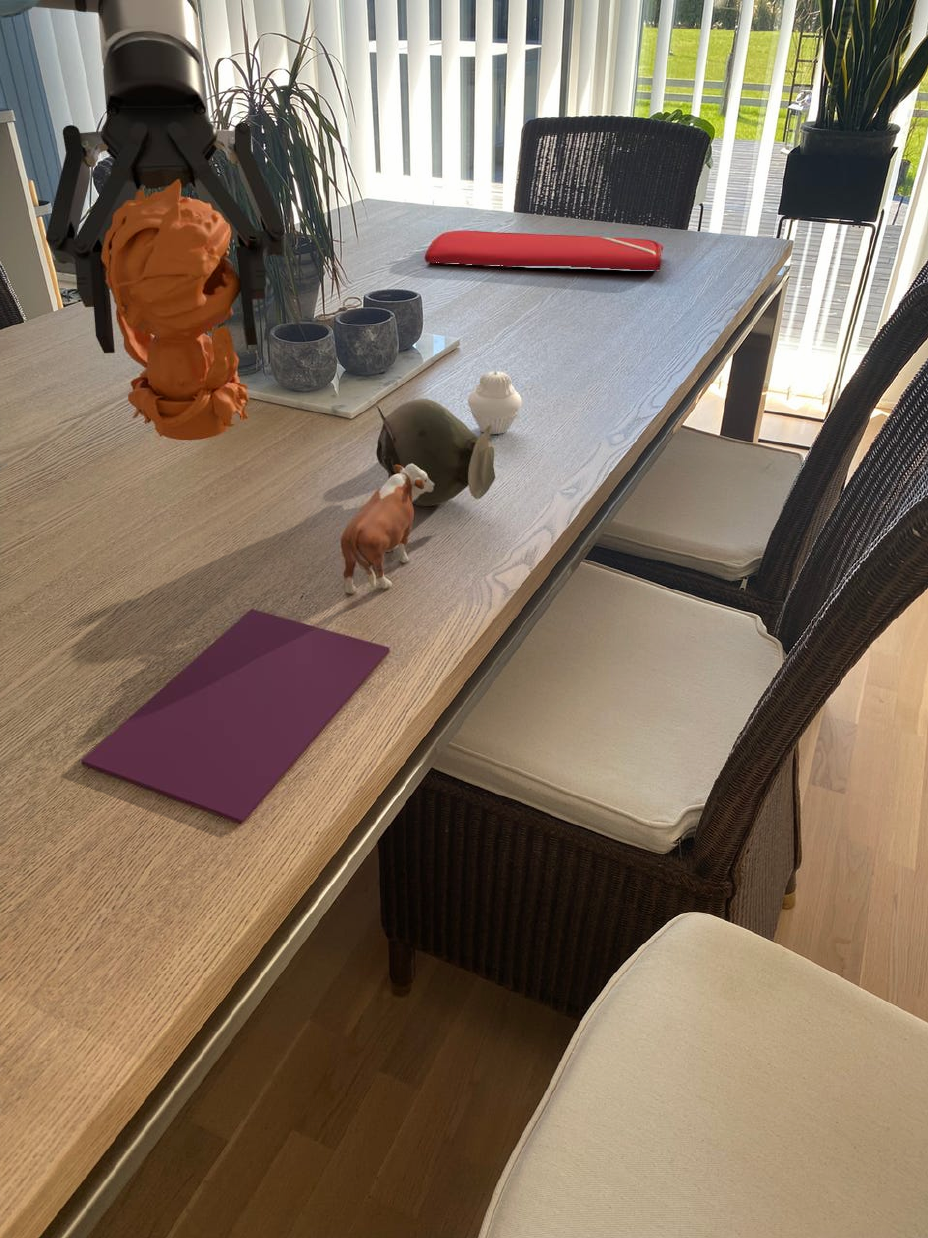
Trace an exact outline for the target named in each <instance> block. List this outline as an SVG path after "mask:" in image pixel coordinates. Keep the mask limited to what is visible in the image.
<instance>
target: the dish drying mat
mask: <svg viewBox="0 0 928 1238" xmlns="http://www.w3.org/2000/svg"><path fill="white" fill-rule="evenodd" d="M663 250H664V245H663V244H660V243H659V242H657V241H656V240H652V239H645V238H629V237H607V236H606V237H605V236H592V235H591V236H589V235H571V234H570V235H569V234H567V235H566V234H544V233H543V234H542V233H541V234H540V233H526V232H525V233H522V232H521V233H520V232H496V231H481V230H453V231H446V232H443V233H441V234H440V235H438V236H437V237H436V238H434V239H433V240H432V241H431V243H430V245H429V246H428V248H427V250H426V252H425V255H424V261H425V263H427V262H432V263H431V264H435V263H436V262H437V263H438V262H439V263H459V264H472V265H500V266H501V265H503V266H571V267H591V268H610V269H630V270H660V271H661V266H662V258H661V251H662V252H663Z"/></svg>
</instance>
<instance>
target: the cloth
mask: <svg viewBox="0 0 928 1238" xmlns="http://www.w3.org/2000/svg"><path fill="white" fill-rule="evenodd" d="M390 651H391V650H390V647H389V646H385V645H381V644H379V643H378V644H377V643H374V642H371V641H367V640H364V639H361V638H357V637H354V636H351V635H346V634H342V633H340V632H336V631H331V630H328V629H324V628H321V627H317V626H314V625H311V624H307V623H304V622H300V621H296V620H293V619H290V618H285V617H283V616H278V615H276V614H272V613H268V612H265V611H261V610H257V609H254V608H250V609H249V610H248V611H247V612H246V613H245V614H244V615H243V616H242V617H241V618H240V619H238V620H237V621H236V622H235V623H233V624H232V626H230V627H229V628H228V629H227V630H226V631H225V632H223V634H222V635H220V636H219V637H218V638H217V639H216V640H215V641H213V642H212V643H211V644H210V645H209V646H208V647H207V648H206V649H205V650H204V651H202V652H201V653H200V654H199V655H198V656H197V657H195V658H194V659H193V660H192V661H191V662H189V664H188V665H187V666H185V667H184V668H183V669H182V670H181V671H180V672H179V673H178V674H176V676H174V677H173V678H172V679H171V680H170V681H168V682H167V684H165V685H164V686H163V687H161V689H160V690H158V692H156V693H155V694H154V695H153V696H152V697H151V698H149V699H148V700H147V701H146V702H145V703H144V704H143V705H142V706H141V707H139V708H138V709H137V710H135V712H134V713H132V714H131V716H129V717H128V718H127V719H126V720H124V722H122V724H120V725H119V726H118V727H117V728H115V730H114V731H112V733H110V734H109V735H108V736H107V737H106V738H104V740H102V741H101V742H100V743H99V744H98V745H97V746H95V748H93V749H92V750H91V751H90V752H89V753H88V754H87V755H85V756H84V757H83V758H82V759H81V760H80V762H81V765H82V766H85V767H88V768H90V769H93V770H96V771H98V772H101V773H104V774H106V775H109V776H112V777H114V778H117V779H120V780H122V781H125V782H128V783H130V784H134V785H136V786H139V787H141V788H144V789H146V790H149V791H152V792H155V793H157V794H159V795H163V796H165V797H168V798H170V799H173V800H176V801H178V802H181V803H184V804H187V805H190V806H192V807H194V808H198V809H200V810H204V811H205V812H208V813H211V814H213V815H215V816H216V815H217V816H219V817H222V818H225V819H227V820H230V821H232V822H235V823H238V824H240V825H243V823H244V822H245V821H246V820H247V819H248V818H249V816H251V814H253V812H254V811H255V810H256V809H257V807H258V806H259V805H260V804H261V803H262V801H263V800H264V799H265V798H266V797H267V796H268V794H269V793H270V792H271V791H272V790H273V789H274V787H275V786H276V785H277V784H278V783H279V781H280V780H281V779H282V778H283V777H284V776H285V774H286V773H287V772H288V771H289V770H290V769H291V767H292V766H293V765H294V764H295V763H296V762H297V761H298V760H299V758H300V757H301V756H302V755H303V753H305V751H306V750H307V749H308V748H309V746H311V744H312V743H313V742H314V740H315V739H316V738H317V737H318V736H319V735H320V733H321V732H322V731H323V730H324V729H325V728H326V726H327V725H328V724H329V723H330V722H331V721H332V719H333V718H334V717H335V716H336V715H337V713H338V712H339V711H340V710H341V709H342V708H343V707H344V706H345V704H346V703H347V702H348V701H349V699H350V698H351V697H352V696H353V695H354V694H355V693H356V692H357V690H358V689H359V688H360V686H361V685H363V683H364V682H365V681H366V679H368V677H370V675H371V674H372V673H373V672H374V670H376V668H377V667H378V666H379V665H380V663H382V662H383V660H384V659H385V657H386V656H387V655H388V654H389V653H390Z"/></svg>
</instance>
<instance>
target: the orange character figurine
mask: <svg viewBox="0 0 928 1238" xmlns="http://www.w3.org/2000/svg"><path fill="white" fill-rule="evenodd" d="M181 195H182V188H181V183H180V179H177V180H176V181H175V182H174V183H173V184H171V185H170V186H166V187H165V188H164V189H163V190H161V191H157V192H153V193H151V194H150V195H149V196H148V197H147V196H146V194H145V192H144V190H143V189H142V190H139V191H138V192H137V194H136V197H135V200H127V201H126V202H124V204H123V206H122V207H121V208H119V209H118V210H117V211H116V212H115V213H114V215H113V223H112V226H111V228H110V229H109V230H108V231H107V233H106V236H105V241H104V245H103V249H102V255H101V259H102V262H103V263H102V264H103V267H104V269H105V277H106V284H108V286H109V288H110V293H111V294H112V297H113V300H114V303H115V306H116V308H115V316H116V317H115V318H116V322H117V324H118V327H119V330H120V333H121V335H122V337H123V348H124V350H125V352H126V353H127V354H128V355H129V356H130V358H131V359H132V360H133V361H135V362H136V363H138V364H139V365H140V366H142V367H143V368H144V370H142V371H141V373H140V375H139V376H138V377H136V378H134V379H131V381H130V386H131V387H132V391H129V393H128V394H127V400H128V402H129V403H130V404H131V405H132V406H133V407H134V408H135V412H134V414H133V416H132V419H136V418H137V417H139V416H140V415H141V416H143V417H144V424H145V425H147V424H149V423H151V422H153V424H154V427H155V428H154V429H155V431H156V433H157V434H158V435H159V437H165V438H168V439H170V440H177V441H199V440H205V439H209V438H212V437H213V438H214V437H217V436H219V435H221V434H222V433H224V432H226V431H227V430H228V429H229V428H230V427H233V426H235V423H234V422H232V419H233V416H234V414H236V413H237V414H238V415H239V419H240V420H241V421H242V420H247V419H248V418H249V415H248V414H247V412H246V411H245V409H246V406H248V404H247V403H249V402H250V398H249V395H248V392H247V389H248V386H247V385H246V384H245V383H241V382H240V381H241V380H240V377H239V376H238V367H239V366H238V365H239V363H240V359H239V356H238V355H237V353H236V350H235V347H234V346H235V345H234V341H233V338H232V333H231V331H230V330H229V328H228V327H227V326H226V325H225V324H224V325H221V326H220V327H217V328H215V327H216V326H218V325H220V324H223V323H224V322H225V321H227V320H228V319H229V318H231V317H232V316H233V314H234V312H233V311H234V310H233V303H235V301H236V300H237V298H238V296H239V294H241V288H240V278H239V273H238V272H237V271H236V267H235V265H234V263H233V262H232V261H231V260H230V259H229V258H227V257H228V256H229V255H230V251H229V247H230V245H231V239H232V237H231V228H230V225H229V224H228V223H227V222H226V221H225V220H224V218H223V217H222V215H221V214H220V213H219V212H217V211H215V210H213V209H212V208H211V204H210V203H206V202H205V201H202V200H200V199H197V198H191V197H189V196H181ZM207 332H209V333H211V332H212V334H211V337H210V336H209V335H208V334H205V333H207ZM139 414H140V415H139Z"/></svg>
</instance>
